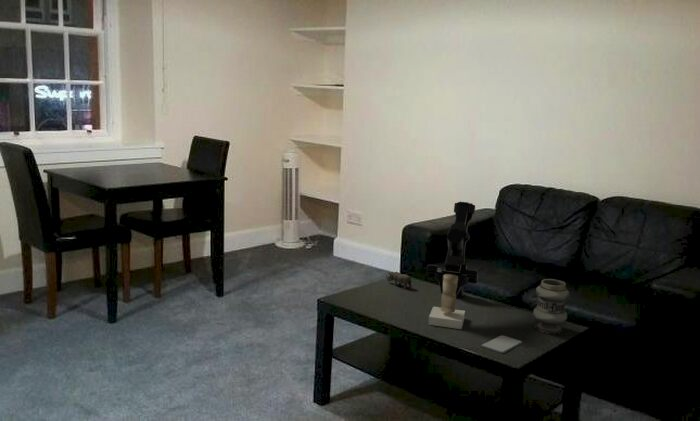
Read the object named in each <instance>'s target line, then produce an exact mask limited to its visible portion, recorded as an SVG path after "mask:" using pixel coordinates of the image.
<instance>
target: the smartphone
mask: <svg viewBox="0 0 700 421" xmlns="http://www.w3.org/2000/svg"><path fill="white" fill-rule="evenodd" d="M521 344H523V341H522V340H519V339H516V338H512V337H510V336H507V335H501V334H500V335H499V336H496V337H495V338H493V339H490V340H489V341H487V342H485V343H483V344H481V345H480V346H481V348H483V349H487V350H489V351H491V352H492V351H493V352H495V353H498V354H501V355H503V354H505V353H507V352H509V351H510V350H513V349H514V348H516V347H518V346H519V345H521Z"/></svg>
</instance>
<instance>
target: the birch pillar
mask: <svg viewBox="0 0 700 421" xmlns="http://www.w3.org/2000/svg"><path fill="white" fill-rule="evenodd" d="M457 282H458V276H456V275H453V274H445V275H443V289H442V294H441V301H440V302H441V303H440V308H441V311H443V312H448V313H451V312H455V310H456V303H457V298H456V290H457Z"/></svg>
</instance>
